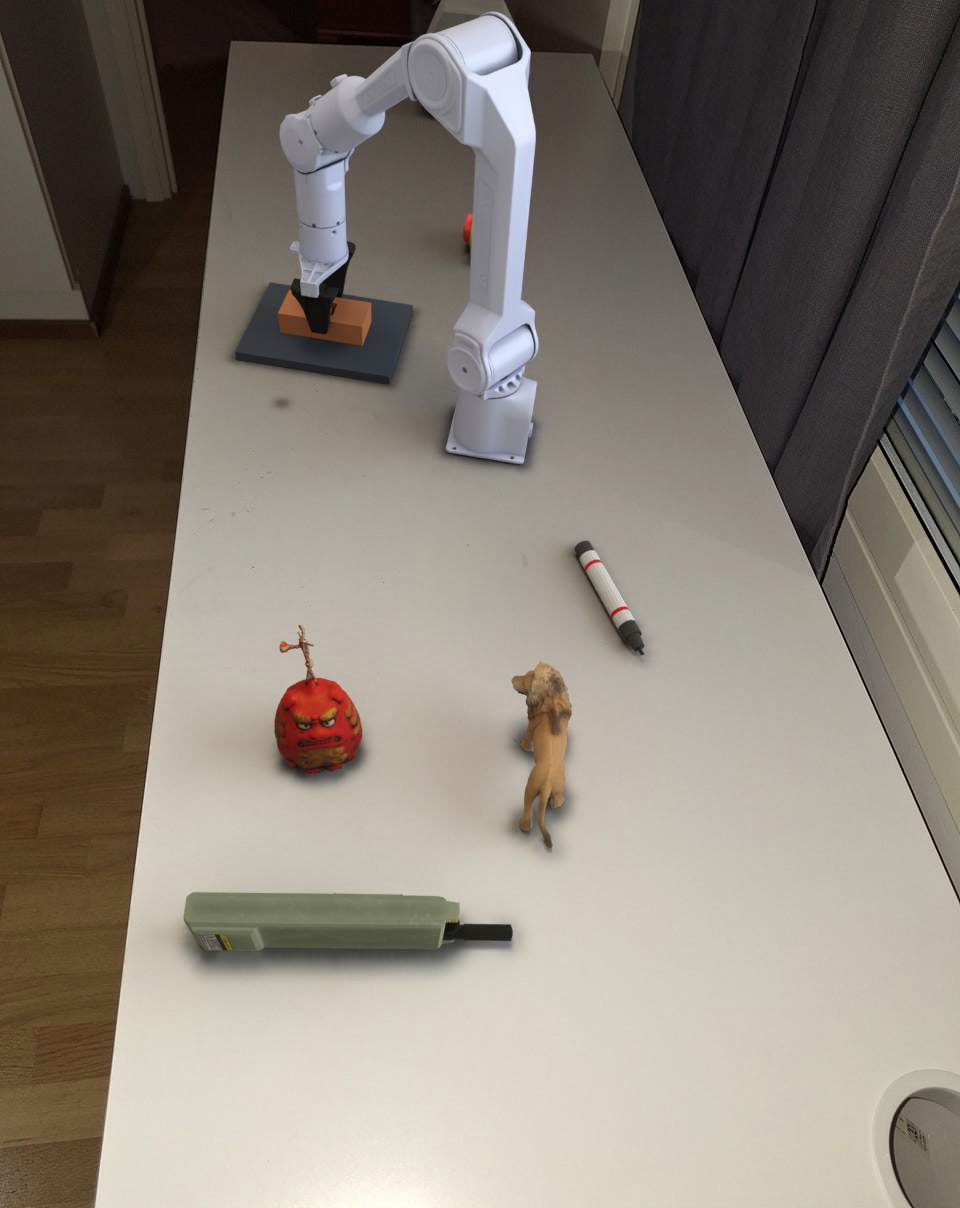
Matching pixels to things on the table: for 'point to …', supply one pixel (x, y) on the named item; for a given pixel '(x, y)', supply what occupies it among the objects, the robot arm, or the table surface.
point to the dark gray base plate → (327, 341)
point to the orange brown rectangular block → (344, 322)
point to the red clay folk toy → (316, 721)
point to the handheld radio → (329, 921)
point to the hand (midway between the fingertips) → (326, 314)
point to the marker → (610, 595)
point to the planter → (465, 13)
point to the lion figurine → (544, 740)
